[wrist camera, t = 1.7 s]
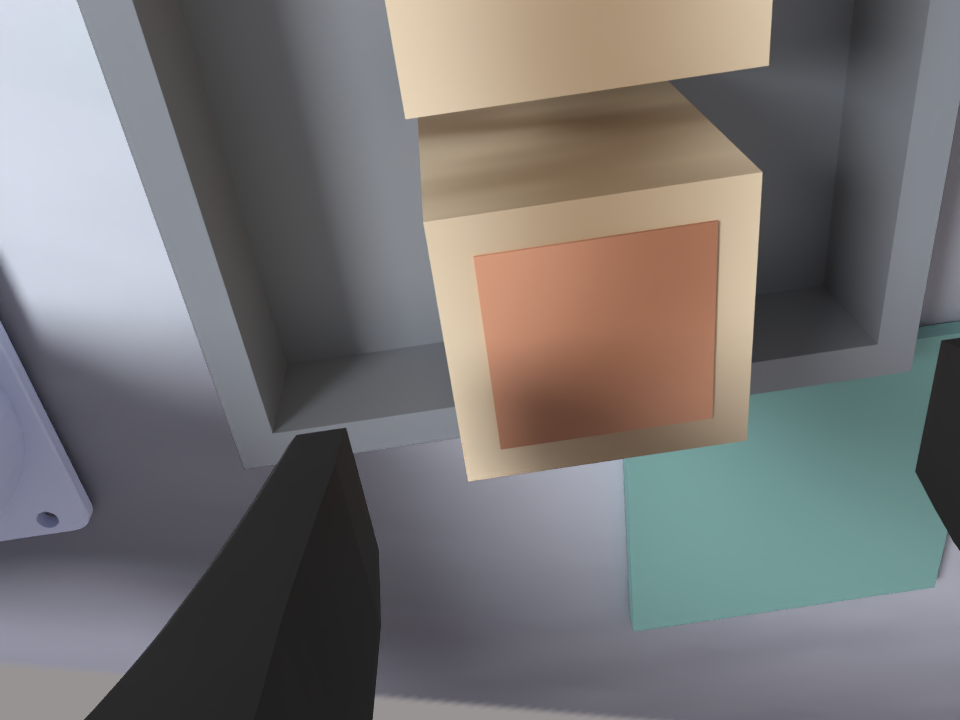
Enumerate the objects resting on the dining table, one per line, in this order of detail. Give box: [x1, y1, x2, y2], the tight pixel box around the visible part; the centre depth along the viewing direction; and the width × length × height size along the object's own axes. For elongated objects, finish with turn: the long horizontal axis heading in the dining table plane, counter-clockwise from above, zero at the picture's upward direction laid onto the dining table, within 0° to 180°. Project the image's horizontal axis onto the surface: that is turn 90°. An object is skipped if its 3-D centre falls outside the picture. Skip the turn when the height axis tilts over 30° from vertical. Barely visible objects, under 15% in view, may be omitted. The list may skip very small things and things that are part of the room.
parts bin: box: [77, 0, 960, 470], centre depth 15 cm, size 14×14×3 cm
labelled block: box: [418, 81, 763, 482], centre depth 15 cm, size 5×5×6 cm
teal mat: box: [623, 321, 960, 631], centre depth 23 cm, size 9×9×1 cm
